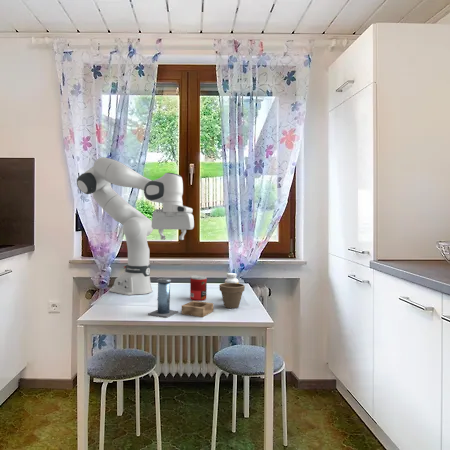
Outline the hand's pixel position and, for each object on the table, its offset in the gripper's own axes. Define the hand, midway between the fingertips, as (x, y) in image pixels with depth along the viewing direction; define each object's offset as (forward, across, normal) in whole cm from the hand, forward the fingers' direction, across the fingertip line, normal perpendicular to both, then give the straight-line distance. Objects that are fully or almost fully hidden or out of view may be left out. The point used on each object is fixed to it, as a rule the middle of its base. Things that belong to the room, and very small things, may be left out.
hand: (172, 239), depth 178 cm
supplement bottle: (+29, +19, +26) cm, 43 cm away
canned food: (+29, +4, +20) cm, 35 cm away
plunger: (+30, +3, -10) cm, 32 cm away
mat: (+31, +3, -10) cm, 33 cm away
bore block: (+31, +15, -2) cm, 34 cm away
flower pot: (+30, +24, +14) cm, 41 cm away
